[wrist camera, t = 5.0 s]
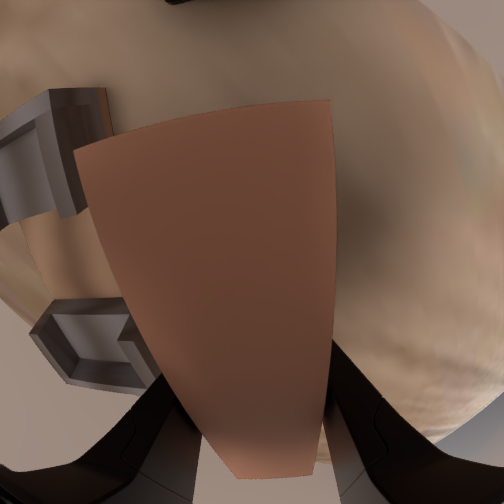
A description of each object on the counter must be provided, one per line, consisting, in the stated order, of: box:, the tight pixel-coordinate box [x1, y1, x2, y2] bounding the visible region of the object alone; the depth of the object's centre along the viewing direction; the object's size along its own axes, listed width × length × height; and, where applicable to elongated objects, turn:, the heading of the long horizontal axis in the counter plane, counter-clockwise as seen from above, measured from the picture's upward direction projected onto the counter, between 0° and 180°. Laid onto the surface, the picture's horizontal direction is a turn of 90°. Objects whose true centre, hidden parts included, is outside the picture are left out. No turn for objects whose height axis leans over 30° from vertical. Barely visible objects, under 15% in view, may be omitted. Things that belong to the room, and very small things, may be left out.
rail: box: [73, 100, 337, 479], centre depth 8 cm, size 14×4×4 cm, turn 8°
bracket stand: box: [0, 88, 162, 395], centre depth 16 cm, size 10×20×6 cm, turn 8°
